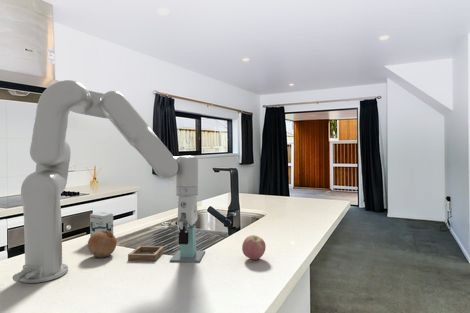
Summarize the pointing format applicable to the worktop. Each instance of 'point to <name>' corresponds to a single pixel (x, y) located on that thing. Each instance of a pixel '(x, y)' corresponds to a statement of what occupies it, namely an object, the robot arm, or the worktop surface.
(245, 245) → the apple
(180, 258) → the mat
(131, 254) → the pocket frame
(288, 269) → the worktop surface
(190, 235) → the part
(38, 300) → the worktop surface
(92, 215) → the ink box
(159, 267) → the worktop surface
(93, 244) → the onion
